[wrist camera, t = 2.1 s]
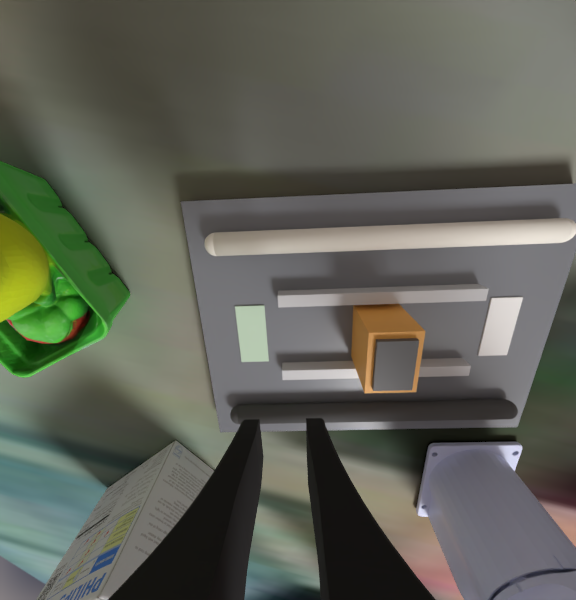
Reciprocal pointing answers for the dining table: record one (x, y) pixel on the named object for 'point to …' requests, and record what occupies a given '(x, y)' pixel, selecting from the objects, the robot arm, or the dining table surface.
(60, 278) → the fruit basket
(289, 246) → the white rounded rod
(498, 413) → the dark grey rounded rod
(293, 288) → the panel
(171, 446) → the light bulb box
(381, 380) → the block
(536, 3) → the dining table surface
